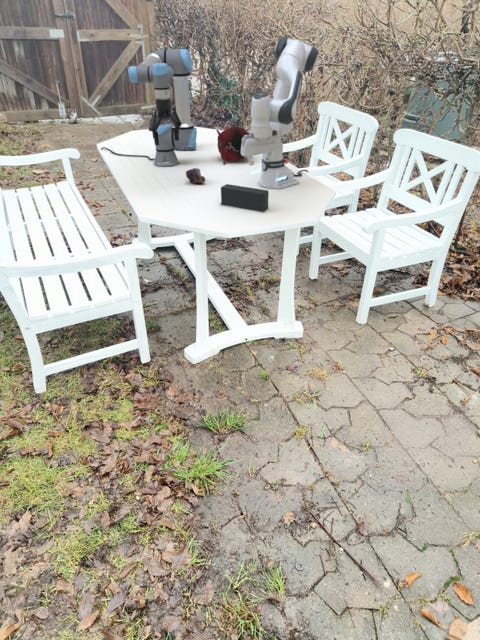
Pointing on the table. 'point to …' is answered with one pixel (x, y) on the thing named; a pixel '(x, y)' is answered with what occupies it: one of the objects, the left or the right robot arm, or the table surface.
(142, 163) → the table surface
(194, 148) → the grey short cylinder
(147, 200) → the table surface
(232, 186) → the box
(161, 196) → the table surface
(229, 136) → the dark red rounded piece
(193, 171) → the rock
